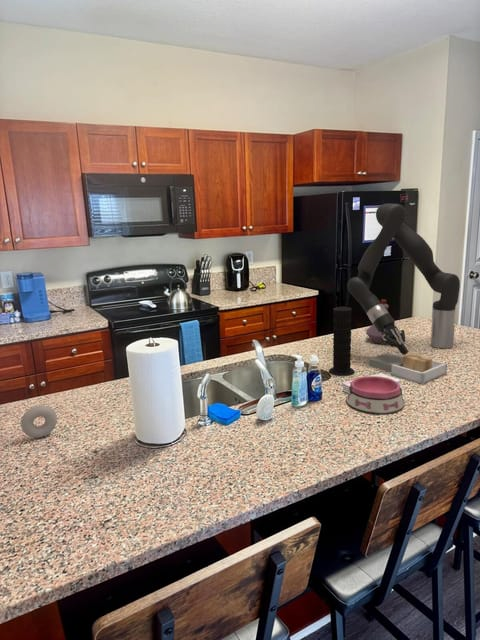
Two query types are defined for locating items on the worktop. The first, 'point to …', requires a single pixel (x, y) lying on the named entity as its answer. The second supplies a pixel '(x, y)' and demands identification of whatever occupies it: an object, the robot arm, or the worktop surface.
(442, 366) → the tray
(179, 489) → the worktop surface
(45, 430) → the donut
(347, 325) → the handle grip
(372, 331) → the flask
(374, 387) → the dog bowl
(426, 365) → the oak block
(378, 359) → the grey square slab
